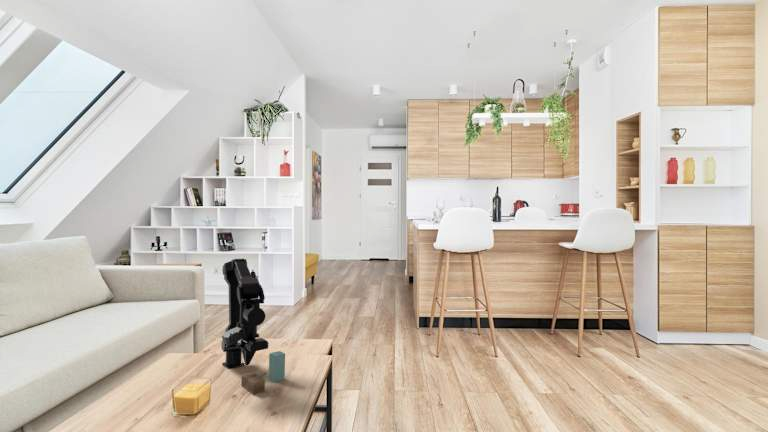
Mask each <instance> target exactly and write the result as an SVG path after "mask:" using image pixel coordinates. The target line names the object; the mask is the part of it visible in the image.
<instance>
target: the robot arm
mask: <svg viewBox="0 0 768 432" xmlns="http://www.w3.org/2000/svg"><path fill="white" fill-rule="evenodd" d="M221 271H222V275H223V278H224V279H223V280H224V281H225V282H226V284H227V285H228V324H227V326H226V328H225V330H224V332H223V333H222V334H221V336H220V337H221V338H222V341H221V343H220V344H221V350H222V352H223V353H225V362H222V363H221V365H222V364H223V365H222V366H224V367H225V368H227V369H228V370H230V368H231V369H234V367H235V368H238V367H237V366H239V367H241V366H240V365H244V364H245V365H244V366H249V365H251V362H252V360H253V358H254V356H255V354H256V353H257V352H258V351H263V350H267V349H269V342H268V340H267V339H264V338H262V337H260V333H258V326H260V325H262V324H263V323H264V321H266V312H265V310H264V309H262V308H261V306H260V304H265V299H266V298H265V293H264V289H263V287H262V285H261V283H260V282H259V280H258V279H257V278H255V277H252V273H251V272H250V270H249V267H248V262H247V259H246V258H233V259H232V260H230V261H227V262H225V263H224V264H223V266H222V270H221ZM242 357H243V360H244V362H243V361H242ZM241 362H242V363H241Z"/></svg>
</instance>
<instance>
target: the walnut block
mask: <svg viewBox="0 0 768 432" xmlns="http://www.w3.org/2000/svg"><path fill="white" fill-rule="evenodd" d="M240 385H241V387H242V388H243V389H244V390H246V391H247V392H249V394H251V395H252V396H255V395H258V394H261V393H265V391H266V379H264V378H262V377H261V376H260V375H258V374H257V373H255V371H252V372H247V373H243V374H241V384H240Z"/></svg>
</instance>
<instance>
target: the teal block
mask: <svg viewBox="0 0 768 432" xmlns="http://www.w3.org/2000/svg"><path fill="white" fill-rule="evenodd" d="M268 354H269V355H268V356H269V357H268V361H269V362H268V365H269V366H268V380H270V381H272V382H273V383H276V382H280V381H283V380H285V378H286V377H285V374H286V373H285V372H286V353H285V352H282V351H281V350H278V351H274V352H269V353H268Z"/></svg>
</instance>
